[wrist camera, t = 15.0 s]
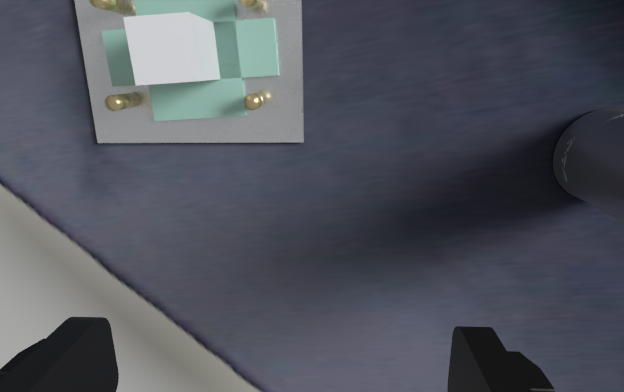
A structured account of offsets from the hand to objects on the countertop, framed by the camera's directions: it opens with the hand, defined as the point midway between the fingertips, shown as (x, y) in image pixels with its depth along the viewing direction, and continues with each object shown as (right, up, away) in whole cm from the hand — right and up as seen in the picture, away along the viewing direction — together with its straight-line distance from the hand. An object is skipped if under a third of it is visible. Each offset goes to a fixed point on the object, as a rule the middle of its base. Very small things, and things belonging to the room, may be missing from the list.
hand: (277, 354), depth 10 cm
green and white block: (-10, +17, +29) cm, 36 cm away
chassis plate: (-11, +17, +30) cm, 36 cm away
